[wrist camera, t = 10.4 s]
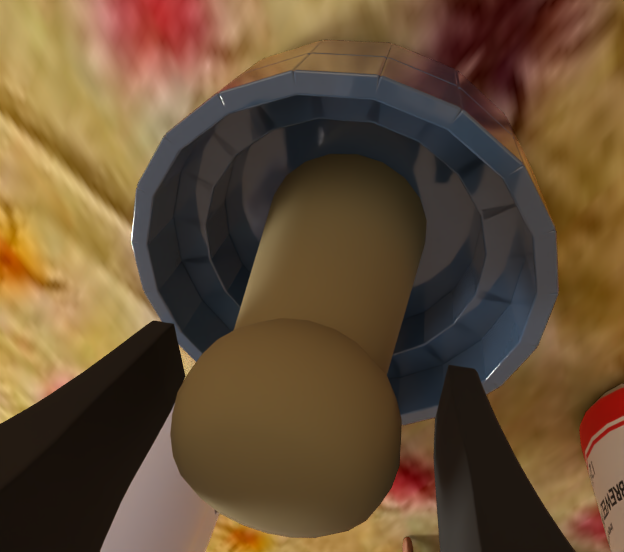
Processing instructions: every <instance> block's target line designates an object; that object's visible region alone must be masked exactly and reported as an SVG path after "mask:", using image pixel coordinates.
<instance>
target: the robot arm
mask: <svg viewBox="0 0 624 552" xmlns="http://www.w3.org/2000/svg"><path fill="white" fill-rule="evenodd" d="M184 378H185V373H184V368H183V364H182V359H181V354H180V350H179V345H178V340H177V336H176V331H175V326H174V324H173V323H166V322H159V321H152V322H150V323H149V324H148V325H146V326H145V327H143V328H142V329H141V330H139V331H138V332H137V333H135V334H134V335H133V336H131V337H130V338H129V339H127V340H126V341H125V342H124V343H122V344H121V345H120V346H118V347H117V348H116V349H114V350H113V351H112V352H110V353H109V354H107V355H106V356H105V357H103V358H102V359H101V360H99V361H98V362H97V363H95V364H94V365H92V366H91V367H90V368H88V369H87V370H86V371H84V372H83V373H81V374H80V375H78V376H77V377H75V378H74V379H72V380H71V381H69V382H68V383H66V384H65V385H63V386H62V387H60V388H59V389H57V390H56V391H55V392H53V393H52V394H50V395H49V396H47V397H45V398H44V399H42V400H41V401H39V402H37V403H36V404H34V405H32V406H31V407H29V408H28V409H26V410H24V411H22V412H21V413H19V414H17V415H15V416H14V417H12V418H10V419H8V420H7V421H5V422H3V423H1V424H0V552H205V551H206V549H207V546H208V543H209V540H210V538H211V535H212V532H213V529H214V527H215V524H216V521H217V519H218V516H219V512H218V511H216V510H215V509H214V508H212V507H211V506H210V505H208V504H207V503H206V502H204V501H203V500H202V499H201V498H200V497H199V496H198V495H197V494H196V493H195V492H194V490H193V489H192V488H191V487H190V486H189V484H188V483H187V482H186V481H185V480H184V479H183V477H182V476H181V475H180V473H179V470H178V468H177V465H176V463H175V460H174V458H173V453H172V445H171V437H170V432H171V422H172V413H173V409H174V405H175V400H176V396H177V392H178V390H179V389H180V387H181V385H182V383H183V381H184ZM434 471H435V486H436V500H437V514H438V528H439V542H440V552H575V550H574V549H573V548H572V546H571V545H570V543H569V542H568V541H567V539H566V538H565V536H564V535H563V533H562V532H561V531H560V529H559V527H558V526H557V524H556V523H555V521H554V520H553V518H552V517H551V515H550V514H549V512H548V511H547V509H546V508H545V506H544V505H543V503H542V501H541V500H540V498H539V496H538V495H537V493H536V492H535V490H534V488H533V487H532V485H531V483H530V481H529V480H528V478H527V476H526V474H525V473H524V471H523V469H522V467H521V466H520V464H519V462H518V460H517V458H516V456H515V455H514V453H513V451H512V449H511V447H510V445H509V443H508V441H507V439H506V437H505V435H504V433H503V431H502V429H501V427H500V425H499V423H498V421H497V418H496V416H495V414H494V412H493V410H492V407H491V405H490V403H489V400H488V398H487V396H486V393H485V391H484V388H483V386H482V383H481V380H480V377H479V375H478V372H477V371H476V370H475V369H474V368H468V367H461V366H454V365H448V369H447V373H446V377H445V381H444V385H443V389H442V393H441V397H440V401H439V405H438V409H437V413H436V417H435V434H434Z"/></svg>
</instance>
